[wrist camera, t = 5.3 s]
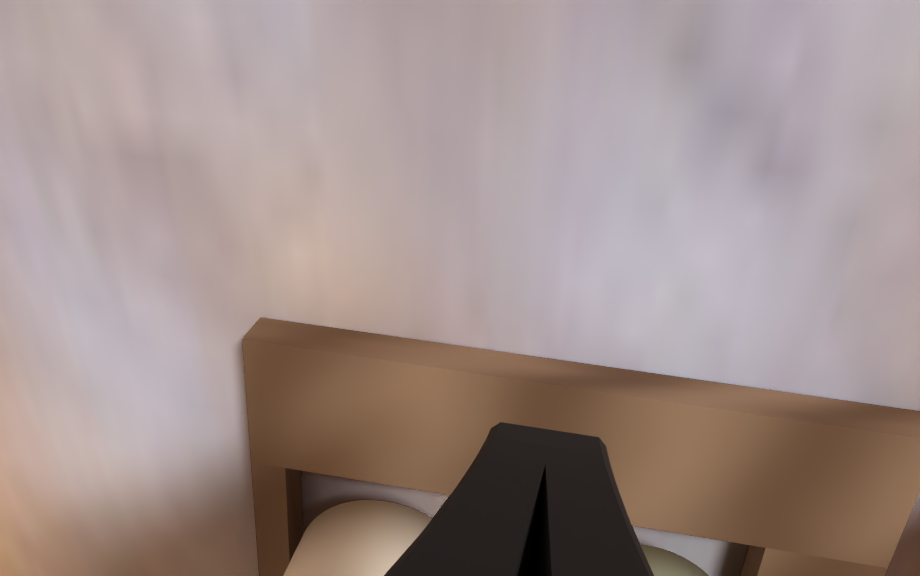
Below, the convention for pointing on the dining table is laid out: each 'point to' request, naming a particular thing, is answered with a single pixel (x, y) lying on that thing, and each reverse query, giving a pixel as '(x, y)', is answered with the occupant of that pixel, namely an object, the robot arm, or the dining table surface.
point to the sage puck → (669, 563)
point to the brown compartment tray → (588, 413)
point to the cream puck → (356, 539)
